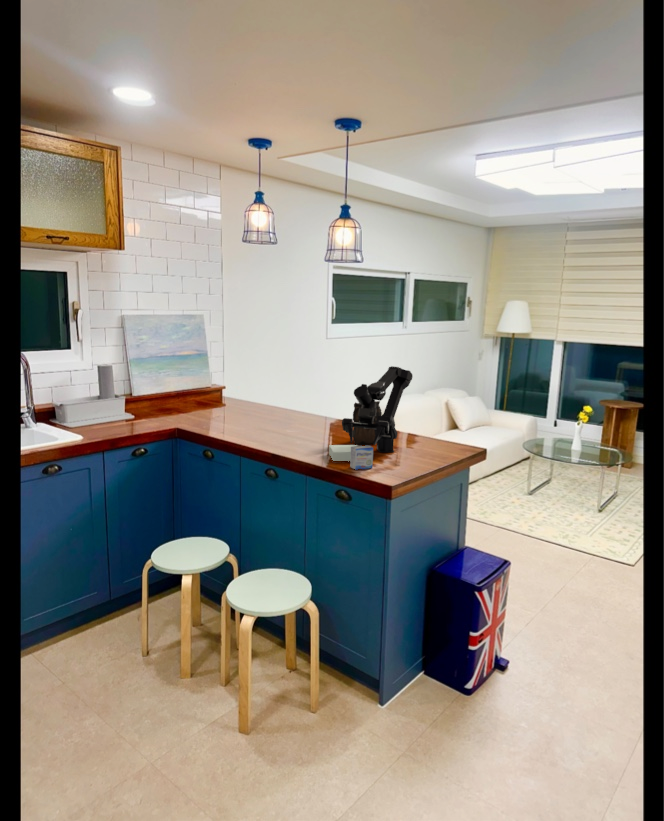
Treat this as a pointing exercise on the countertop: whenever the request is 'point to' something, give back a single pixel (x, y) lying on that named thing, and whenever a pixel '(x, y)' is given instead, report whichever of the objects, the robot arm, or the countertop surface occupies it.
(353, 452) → the medicine box
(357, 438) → the owl
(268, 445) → the countertop surface
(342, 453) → the mint block
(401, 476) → the countertop surface
